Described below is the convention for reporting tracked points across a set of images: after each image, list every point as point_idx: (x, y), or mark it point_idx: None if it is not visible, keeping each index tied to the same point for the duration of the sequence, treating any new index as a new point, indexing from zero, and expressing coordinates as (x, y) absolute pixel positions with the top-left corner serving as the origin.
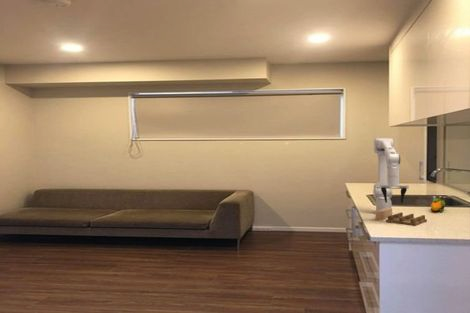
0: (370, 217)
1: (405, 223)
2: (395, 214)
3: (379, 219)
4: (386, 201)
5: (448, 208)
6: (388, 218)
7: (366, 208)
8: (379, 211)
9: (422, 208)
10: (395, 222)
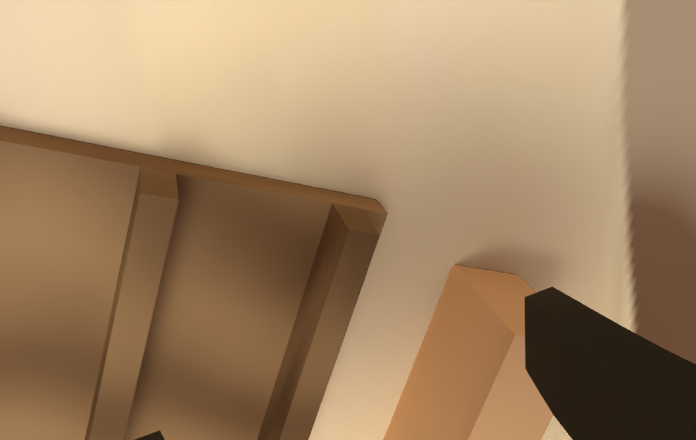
0: None
1: (55, 143)
2: (292, 434)
3: (473, 273)
4: (552, 305)
5: None
6: (360, 218)
7: None
8: None
9: None
10: (236, 177)
